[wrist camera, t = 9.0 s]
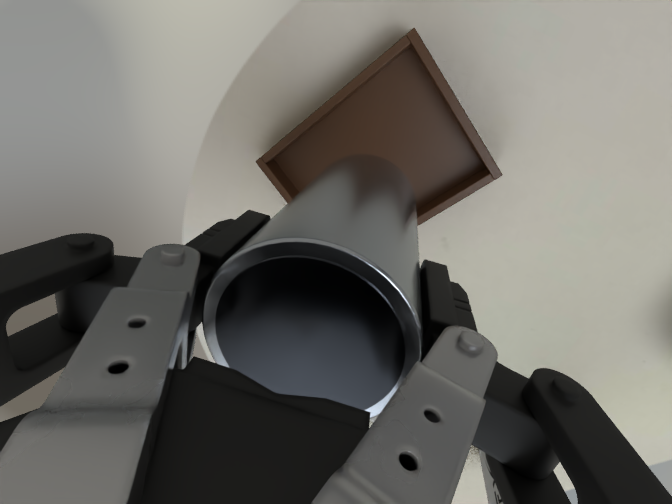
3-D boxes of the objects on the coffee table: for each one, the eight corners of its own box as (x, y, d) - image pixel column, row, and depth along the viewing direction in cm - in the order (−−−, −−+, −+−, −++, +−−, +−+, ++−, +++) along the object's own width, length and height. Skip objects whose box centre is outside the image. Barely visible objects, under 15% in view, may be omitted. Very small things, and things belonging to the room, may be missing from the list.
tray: (414, 33, 25) (414, 27, 22) (494, 167, 27) (502, 175, 25) (267, 155, 30) (254, 161, 28) (346, 257, 33) (340, 271, 30)
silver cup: (321, 141, 17) (205, 209, 7) (431, 169, 17) (460, 281, 7) (302, 240, 20) (194, 391, 10) (398, 267, 19) (385, 453, 9)
